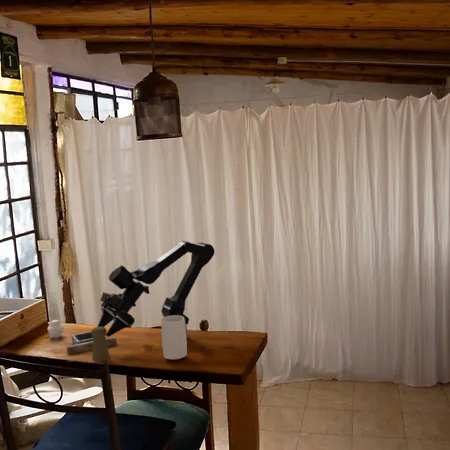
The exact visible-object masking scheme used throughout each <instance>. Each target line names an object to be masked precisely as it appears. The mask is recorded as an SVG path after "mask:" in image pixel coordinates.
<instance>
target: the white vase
mask: <svg viewBox="0 0 450 450" xmlns="http://www.w3.org/2000/svg"><path fill="white" fill-rule="evenodd" d="M47 331H48V334H49V335H50V336H51V338H52V339H57V338H61V336H62V333H63V331H64V325H63V324H62V323H61V321H60V320H58V319H53V320H51V321H50V324H49V326H47Z"/></svg>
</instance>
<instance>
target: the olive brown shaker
mask: <svg viewBox="0 0 450 450" xmlns="http://www.w3.org/2000/svg"><path fill="white" fill-rule="evenodd" d="M107 332H108V331H107V328H106V326H105V327H98V326H95V327H93V328H92V329H91V334H92V337H93V349H92V355H91V356H92V357H91V358H92V360H93V361H95V362H102V361H101V360H103V361H105V360H108V359H110V358H111V357H110V356H111V355H110V352H109V348H108V347H109V346H107V342H106V338H107V336H106V334H107Z"/></svg>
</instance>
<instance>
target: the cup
mask: <svg viewBox="0 0 450 450" xmlns="http://www.w3.org/2000/svg"><path fill="white" fill-rule="evenodd" d="M160 326H161V327H160V328H161V329H160V330H161V344H162V345H161V346H162V352H163V358H165V359H167V360H180V359H182V358H186V356H187V355H188V353H187V350H188V347H187V346H188V345H187V344H188V343H187V341H188V340H187V338H186V327H187V324H186V325H185V318H184V317H183V316H179V315H172V316H167V317H164V316H163V317H162V318H161V325H160Z"/></svg>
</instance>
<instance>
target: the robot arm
mask: <svg viewBox="0 0 450 450" xmlns="http://www.w3.org/2000/svg"><path fill="white" fill-rule="evenodd" d="M188 253H190V254H191V258H190V259H191V260H190V263H189V265H188V268H187V269H186V271H185V273H184V274H183V277H182V279H181V281H180V283H179V285H178V287H177V289H176V291H175V292H174V294H173V295H172V296H171V297H166V298H165V300H164V303H163V304H162V305H161V307H162V308H161V313H162V314H161V315H162V317H163V318H164V317H167V316H172V315H179V316H183V317H184V318H185V325H186V338H187V341H188V340H189V337H188V331H187V328H188V327H187V325H189V321H190V318H189V317H187V315H186V314H185V309H186V302H187V298H188V297H189V295H190V292H191V290H192V288H193V287H194V285H195V283H196V280H197V278H198V277H199V275H200V273H201V271H202V269H203V268H204V267H205V266H206V265H207V264H208V263H210V261H211V260H212V259H213V257H214V255H215V248H214V246H213V245H212V244H210V243H205V242H197V243H192V242H190V241H187V240H186V241H185V240H181V241H179V243H178V244H177V245H175V246H174V247H173V248H171V249H169V250H168V251H166V253H164V254H162V255H161V256H160V257H159V258H157V259H156V260H154V261H151V262H148V263H146V264H143V265H142V266H140V267H138V268H137V270H134V271H129V270H128V269H127V268H126V267H125V266H124V265H119V267H117V268H116V269H114V270H112V271H111V273H110V275H109V276H108V280H109V281H110V282H111V283H113V284H114V285H115V286H116V287H117V288H118V289H120V290H124V291H123V292H122V293H118V294H117V293H116V294H115V293H114V292H113V293H108V292H105V291H103V292H102V295H101V297H100V300H99V301H100V302H102V303H101V304H100V306H101V307H100V310H101V312H102V313H101V318H100V320H99V322H98V325H97V327H105V328H106V326H107V325H108V324H110V323H111V322H112V321H113V322H112V324H111V325H110V327H109V329H108V331H106V332H107V333H106V336H105V337H107V338H109V337H112V336H113V335H115V334H117V333H118V332H120V331H122V330H125V329H126V328H129V327H132V326H133V325H134V323H135V320H136V319H135V317H133V316H132V315H131V314H130V313H129V312H130V310H131V309H132V308H135V307H136V306H137V304H136V302H137V301H138V300H139V298H140V297H141V295H143V293H145V294H146V295H149V294H150V287H149V286H148V285H153V284H154V283H155V282H156V281H157V280H158V279H159V278H160V277H161V275H162V273H163V272H164V271H165V270H166V269H168V267H170V266H171V265H172V264H174V263H175V262H177V261H178V260H179V259H181V258H182V257H183V256H185V255H186V254H188ZM136 281H137V282H136ZM144 284H145V285H144Z"/></svg>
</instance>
